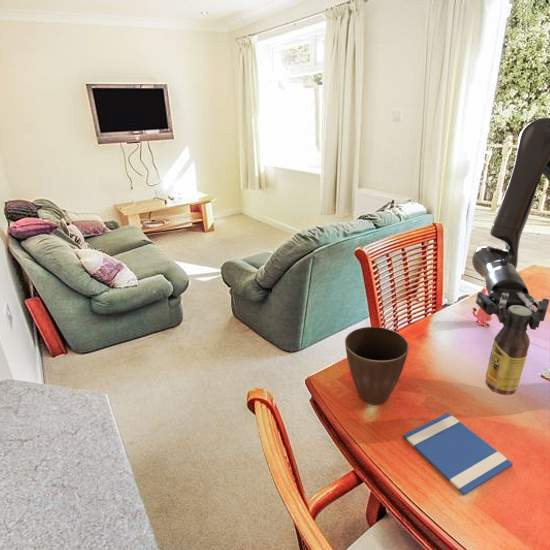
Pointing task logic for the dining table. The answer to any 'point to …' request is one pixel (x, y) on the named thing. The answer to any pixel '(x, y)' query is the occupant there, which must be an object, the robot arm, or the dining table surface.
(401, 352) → the flower pot
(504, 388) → the sauce bottle
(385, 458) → the dining table surface
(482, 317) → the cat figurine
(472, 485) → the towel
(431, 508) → the dining table surface
